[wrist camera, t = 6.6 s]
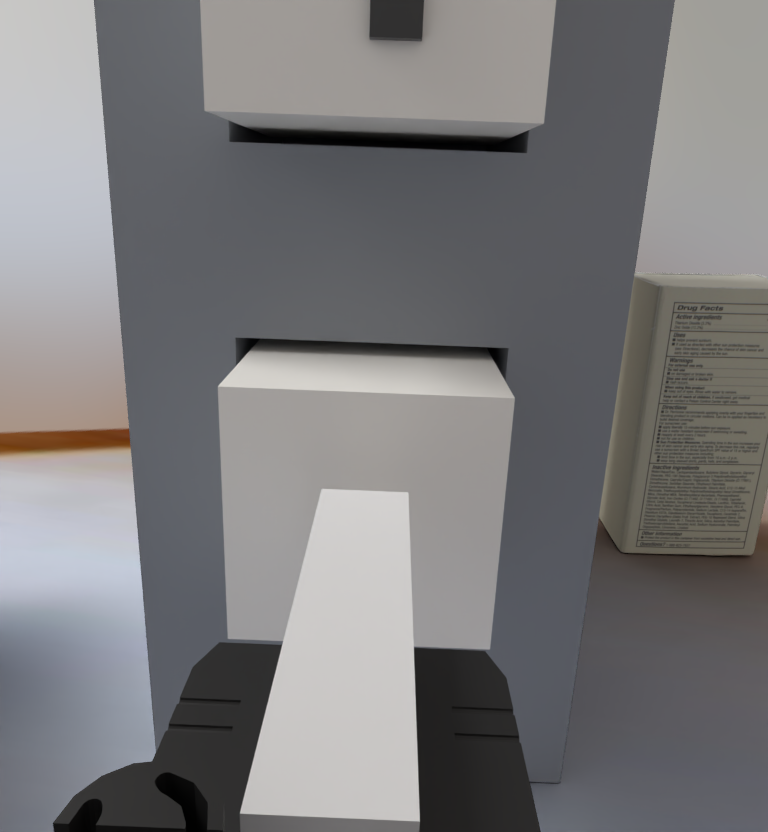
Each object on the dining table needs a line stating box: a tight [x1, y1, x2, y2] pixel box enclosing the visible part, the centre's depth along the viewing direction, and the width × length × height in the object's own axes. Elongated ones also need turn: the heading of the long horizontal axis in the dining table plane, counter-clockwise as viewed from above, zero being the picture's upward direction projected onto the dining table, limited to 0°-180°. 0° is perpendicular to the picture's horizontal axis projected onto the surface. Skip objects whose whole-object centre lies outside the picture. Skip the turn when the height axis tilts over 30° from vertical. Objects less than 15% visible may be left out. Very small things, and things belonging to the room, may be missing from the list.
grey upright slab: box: [94, 0, 675, 783], centre depth 23 cm, size 11×17×25 cm, turn 179°
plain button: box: [218, 338, 515, 650], centre depth 16 cm, size 5×6×5 cm
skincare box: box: [599, 272, 768, 555], centre depth 31 cm, size 6×4×12 cm
